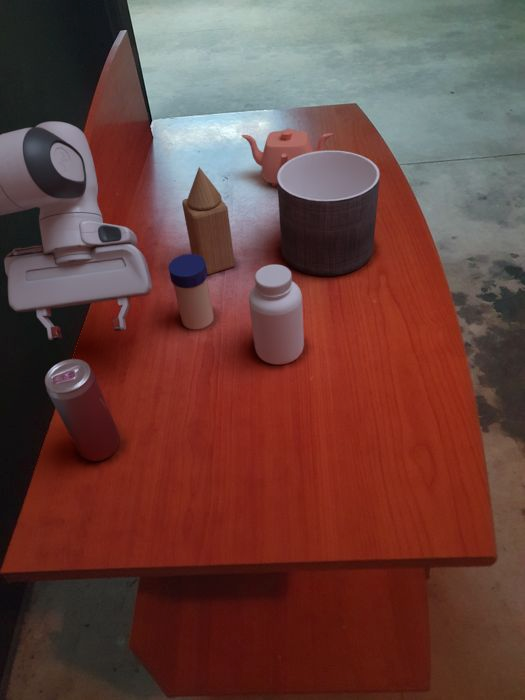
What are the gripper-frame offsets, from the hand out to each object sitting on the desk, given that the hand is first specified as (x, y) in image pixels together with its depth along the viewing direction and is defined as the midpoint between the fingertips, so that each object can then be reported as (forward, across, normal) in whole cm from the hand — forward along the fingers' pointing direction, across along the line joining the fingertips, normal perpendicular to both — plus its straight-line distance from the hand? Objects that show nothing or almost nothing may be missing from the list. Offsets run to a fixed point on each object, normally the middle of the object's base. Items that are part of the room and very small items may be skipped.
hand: (88, 334), depth 83 cm
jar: (-1, +15, +15) cm, 22 cm away
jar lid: (-9, +15, +8) cm, 19 cm away
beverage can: (+16, 0, -2) cm, 16 cm away
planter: (-11, +41, +26) cm, 50 cm away
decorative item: (-12, +19, +26) cm, 34 cm away
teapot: (-31, +38, +46) cm, 67 cm away
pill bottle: (+6, +28, +8) cm, 30 cm away
